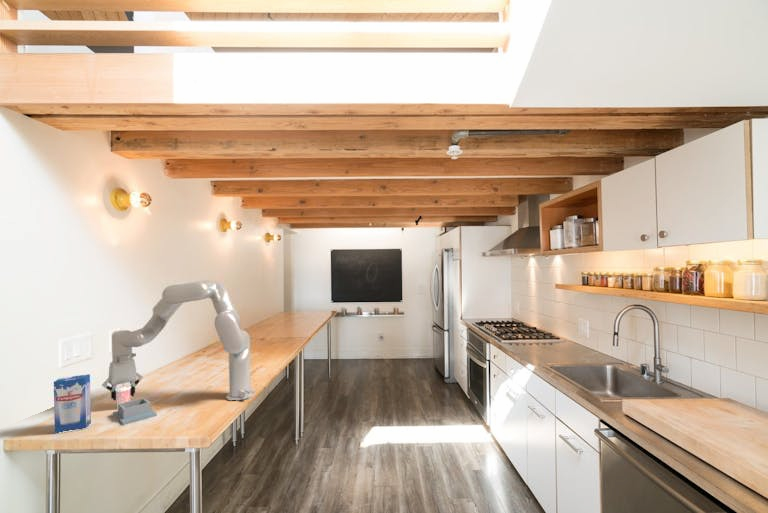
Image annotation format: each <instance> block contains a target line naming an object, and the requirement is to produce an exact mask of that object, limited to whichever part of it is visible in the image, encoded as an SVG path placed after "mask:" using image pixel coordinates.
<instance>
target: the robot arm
mask: <svg viewBox="0 0 768 513" xmlns="http://www.w3.org/2000/svg"><path fill="white" fill-rule="evenodd" d="M206 299H210V300H211V302H212V306H213V308H214V310H215V313H216V317H215V318H214V322H213V323H214V328H215V330H216V333H217V335H218V337H219V340H220V343H221V345H222V346H223V348H224V350H225V351H226V352H227V353H228V379H229V380H228V382H229V383H228V384H229V385H228V386H229V393H227V394H226V396H225V398H226V400H228V401H232V400H236V401H243V400H247V399H250V398H252V397H254V395H255V391H254V390H253V389H252V386H251V385H252V384H251V382H252V380H251V379H252V378H251V352H250V351H251V336H250V334H249V333H248V332H247V331H246V330H244V329H241V328H240V326H239V324H240V322H241V316H240V314H239V313H238V310H237V309H236V306H235V304H234V301H233V299H232V296H231V295H230V292H229V290H228V289H227V287H226V286H225V285H224V284H222V283H221V282H218V281H215V280H200V281H194V282H193V281H192V282H188V283H187V282H185V283H180V284H171V285H168V286H166V287H165V288H164V289H163V291H162V293H161V298H160V299H159V301H158V302H157V303H156V304H155V305H154V306H153V308H152V316H151V318H150V319H149V320H148V321H147V322H146V324H145V325H144V326H143V327H142V328H139V329H136V330H132V331H131V330H118V331H114V332H112V334H111V355H112V356H111V357H112V358H111V360H112V361H111V362H110V363H109V367H108V378H106V380H105V381H104V382H103V383H102V384H101V386H102V387H103V388H104V389H106V390H108V391H110V395H111V396H110V398H111V399H112V400H113V401H117V398H116V391H115V389H116V388H117V385H118V386H119V385H122V384H124V385H125V384H127V383H129V384H130V386H131V389H130V397H134V396H135V394H136V386H137V385H138V384H139V383H140V382H141V380H142V379H143V378H144V376H143V375H141V374H140V373H138V372H137V367H136V366H137V365H136V361H135V359H134V357H136V356H137V353H135V352H134V353H133V348H139V347H142V346H144V345H147V344H149V343H151V342H152V341H153V340H155V339H156V337H157V336H158V335H159V334H160V333H161V331H162V330H163V329H164V328H165V327H166V325H167V324H168V322H169V321H170V318H171V317H173V315H174V314H175V313H176V311H178V309H179V308H180V307H181V306H182V305H183V303H189V302H197V301H201V300H206ZM108 384H110V385H111V386H110V385H108Z"/></svg>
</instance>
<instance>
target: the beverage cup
mask: <svg viewBox="0 0 768 513" xmlns="http://www.w3.org/2000/svg"><path fill="white" fill-rule="evenodd" d="M130 389H131V385H125V383H124V384H121V386H119V387H116V388H115V391H116V408H117V409H118V404H120V403H124V402H128V401H131V395H130Z"/></svg>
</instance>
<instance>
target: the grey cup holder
mask: <svg viewBox="0 0 768 513" xmlns="http://www.w3.org/2000/svg"><path fill="white" fill-rule="evenodd" d="M112 414H113V416H115V418H116V420H118V421H119V423H121V425H123V426H125V425H128V424H132V423H136V422H139V421H142V420H146V419H149V418H153V417H157V412H156V411H155V410H153V409H152V406H151V401H149V400H148V399H147V398H145V397H141V398H137V399H133V400H130V401H128V402H124V403H120V404H118V408H117V410H115V411H113V412H112Z"/></svg>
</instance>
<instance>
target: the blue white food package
mask: <svg viewBox="0 0 768 513" xmlns="http://www.w3.org/2000/svg"><path fill="white" fill-rule="evenodd" d="M91 404H92V403H91V374H82V375H74V376H72V375H71V376H66V377H59V378H58V379H56V380H54V381H53V405H54V406H53V410H54V413H53V414H54V416H53V417H54V418H53V419H54V434H55V433H58V434H60V433H59V432H63V431H69V430H75V429H81V430H83V429H82V428H86V427H87V426H88V425H89V424H90V425H91V423H92V415H91V414H92V413H91V412H92V411H91V408H92V407H91V406H92V405H91ZM90 425H89V426H90ZM89 426H88V427H89ZM88 427H87V428H88ZM87 428H86V429H87Z"/></svg>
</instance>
